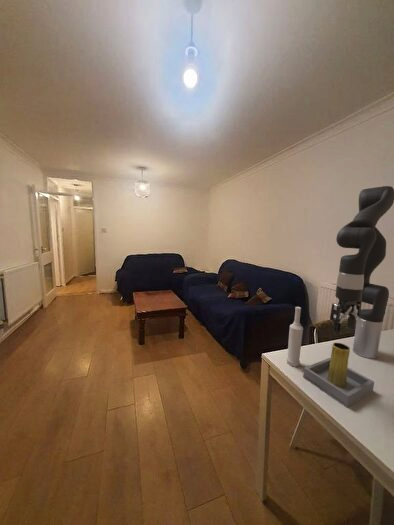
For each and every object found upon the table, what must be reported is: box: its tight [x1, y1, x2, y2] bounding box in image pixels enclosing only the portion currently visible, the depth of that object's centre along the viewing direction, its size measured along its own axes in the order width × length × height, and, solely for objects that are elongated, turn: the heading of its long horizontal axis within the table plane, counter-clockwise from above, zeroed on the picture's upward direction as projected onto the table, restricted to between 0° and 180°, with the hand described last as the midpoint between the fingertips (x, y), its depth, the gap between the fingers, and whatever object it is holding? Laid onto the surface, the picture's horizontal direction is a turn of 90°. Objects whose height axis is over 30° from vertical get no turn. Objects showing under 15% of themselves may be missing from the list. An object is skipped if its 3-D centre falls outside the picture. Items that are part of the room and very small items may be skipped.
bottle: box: [286, 306, 304, 368], centre depth 91 cm, size 5×5×25 cm
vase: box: [327, 342, 351, 387], centre depth 80 cm, size 6×6×14 cm
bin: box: [302, 357, 375, 408], centre depth 80 cm, size 16×16×4 cm
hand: (343, 329), depth 77 cm, fingers open, 8 cm apart
